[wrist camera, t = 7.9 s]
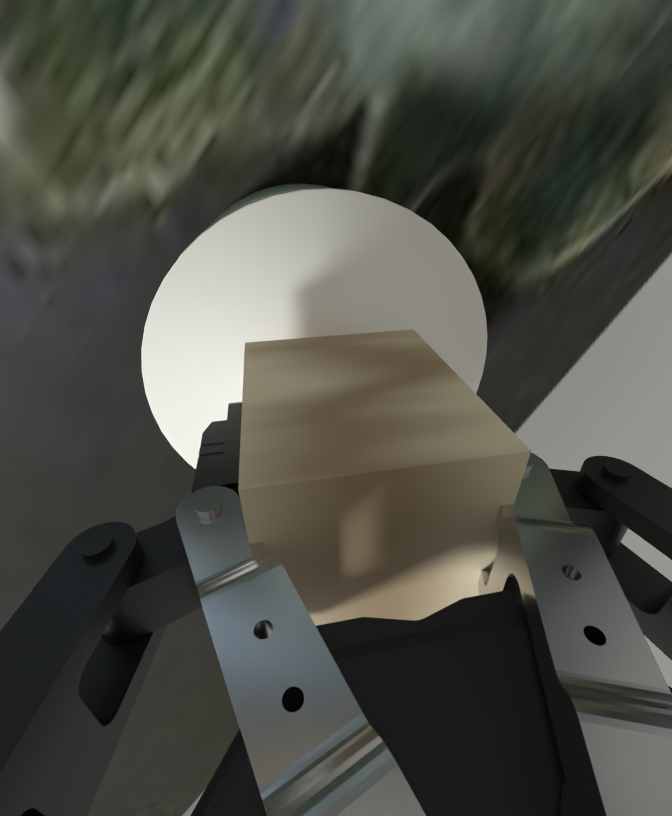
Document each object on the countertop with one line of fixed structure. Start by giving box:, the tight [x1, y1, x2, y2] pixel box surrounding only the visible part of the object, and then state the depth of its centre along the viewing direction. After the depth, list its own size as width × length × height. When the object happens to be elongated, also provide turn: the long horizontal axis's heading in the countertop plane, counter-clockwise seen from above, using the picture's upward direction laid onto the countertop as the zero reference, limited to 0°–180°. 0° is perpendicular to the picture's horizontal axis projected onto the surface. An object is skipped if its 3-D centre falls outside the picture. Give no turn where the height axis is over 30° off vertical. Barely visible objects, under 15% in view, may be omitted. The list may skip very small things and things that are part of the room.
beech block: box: [238, 329, 531, 626], centre depth 10 cm, size 5×5×6 cm
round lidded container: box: [141, 183, 487, 469], centre depth 17 cm, size 12×12×7 cm
